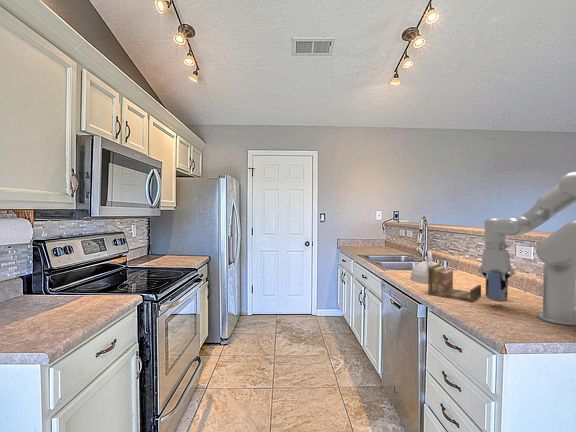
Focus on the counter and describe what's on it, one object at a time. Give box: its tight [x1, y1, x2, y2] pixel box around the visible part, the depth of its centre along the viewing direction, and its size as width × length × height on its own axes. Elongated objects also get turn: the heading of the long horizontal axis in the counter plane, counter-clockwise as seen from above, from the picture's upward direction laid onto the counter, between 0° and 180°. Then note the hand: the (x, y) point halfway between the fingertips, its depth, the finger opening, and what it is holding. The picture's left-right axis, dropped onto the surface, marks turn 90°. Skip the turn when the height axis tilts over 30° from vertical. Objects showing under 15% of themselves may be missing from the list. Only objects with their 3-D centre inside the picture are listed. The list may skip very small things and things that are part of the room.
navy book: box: [488, 272, 504, 298], centre depth 140 cm, size 4×10×10 cm, turn 137°
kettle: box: [410, 250, 439, 285], centre depth 193 cm, size 20×21×18 cm
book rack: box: [427, 263, 482, 303], centre depth 158 cm, size 20×14×14 cm
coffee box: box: [485, 272, 509, 302], centre depth 154 cm, size 9×6×16 cm
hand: (496, 288), depth 140 cm, fingers closed on navy book, 4 cm apart
